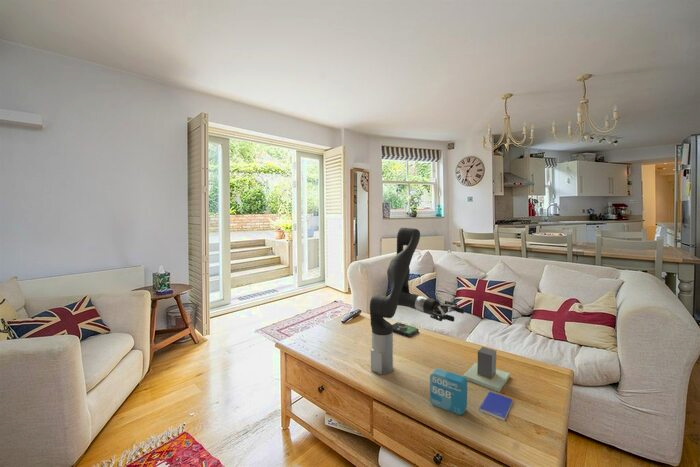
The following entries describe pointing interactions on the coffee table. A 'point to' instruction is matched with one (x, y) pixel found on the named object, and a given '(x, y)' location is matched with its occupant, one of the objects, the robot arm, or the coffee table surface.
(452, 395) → the data package
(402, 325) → the disk drive
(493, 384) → the pin board
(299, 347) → the coffee table surface
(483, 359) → the block
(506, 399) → the hard drive
